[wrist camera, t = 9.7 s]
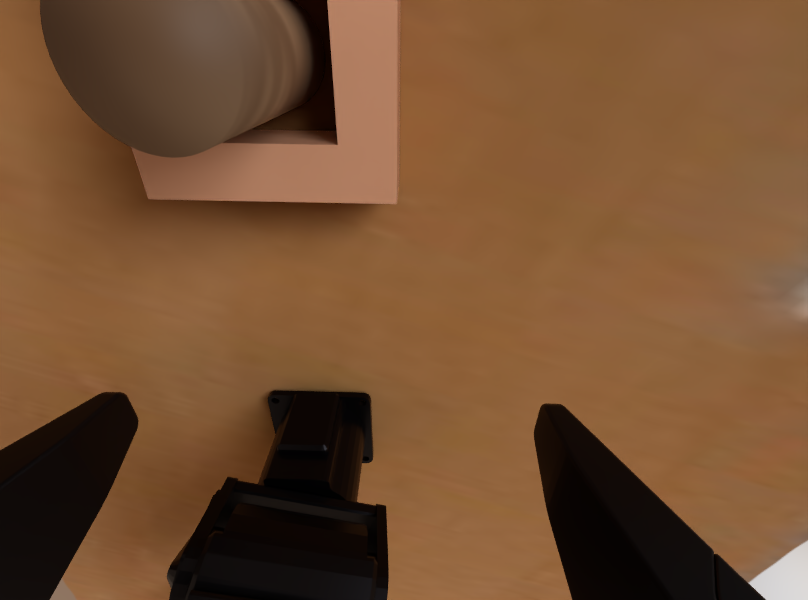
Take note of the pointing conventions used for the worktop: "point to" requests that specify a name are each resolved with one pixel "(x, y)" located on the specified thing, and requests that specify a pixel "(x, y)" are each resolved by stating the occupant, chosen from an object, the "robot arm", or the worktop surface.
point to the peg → (183, 66)
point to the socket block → (311, 131)
